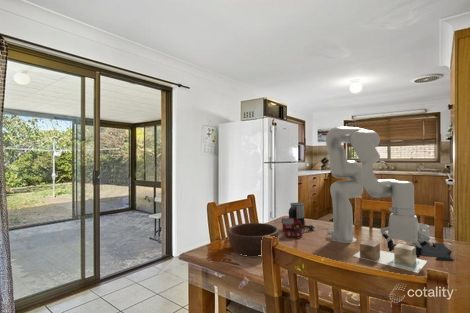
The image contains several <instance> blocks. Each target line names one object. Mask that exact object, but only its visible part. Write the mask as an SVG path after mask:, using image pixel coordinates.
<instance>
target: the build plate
mask: <svg viewBox="0 0 470 313" xmlns="http://www.w3.org/2000/svg"><path fill="white" fill-rule="evenodd" d="M352 257H355V258H359V259H363V260H367V261H371V262H374V263H378V264H382V265H386V266H390V267H395V268H397V269H402V270H405V271H409V272H414V273H416V274H419V272H421V271H422V269H423V268H424V267H425V265H426V264H427V263H428V260H427V259H426V260H425V259H420V258H417V257H416V262H415V263H414V265H413V266H409V265H405V264H401V263H397V262H395V261H394V253H393V252H391V251H384V250H381V249H380V258H378V259H377V260H376V261H372V260H368V259H364V258H360V250H359V251H358V252H356V253H355V254H353V255H352Z"/></svg>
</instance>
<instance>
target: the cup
mask: <svg viewBox="0 0 470 313" xmlns="http://www.w3.org/2000/svg"><path fill="white" fill-rule="evenodd" d="M418 225H419V231H420V232H422V233H424V234H425V235H427V236H429V237H430V225H428V224H426V223H419V222H418ZM419 240H420V241H421V242H423V241H424V240H425V239H424V238H423V237H421V236H420V238H419Z"/></svg>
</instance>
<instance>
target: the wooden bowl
mask: <svg viewBox="0 0 470 313" xmlns="http://www.w3.org/2000/svg"><path fill="white" fill-rule="evenodd" d="M265 235H270V236H275V237H277V238H278V239H279V229H278V227H277V226H275V225H272V224H270V223H269V224H268V223H261V222H246V223H244V222H243V223H240V224H239V223H238V224H235V225H232V226H230V227H229V228H228V229H227V238H228V242H229V243H228V244H229V245H230V248H231V250H232V251H233V252H234V253H235V252H236V253H238V254H242V255H247V256H258V255H261V240H262V237H263V236H265ZM236 253H235V254H236ZM238 254H237V255H238Z"/></svg>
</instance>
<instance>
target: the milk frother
mask: <svg viewBox="0 0 470 313" xmlns="http://www.w3.org/2000/svg"><path fill="white" fill-rule="evenodd" d="M289 204H290V207H289V209H288V218H293V219H294V220H295V218H298V219H299V221H300V222H301V223H302V225H303V227H304V229H305V228H306V229H309V230H310V229H316V228H315V226H313V224H312V225H306V224H305V222H306V221H305V203H303V202H290V203H289ZM299 225H300V224H299Z"/></svg>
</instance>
